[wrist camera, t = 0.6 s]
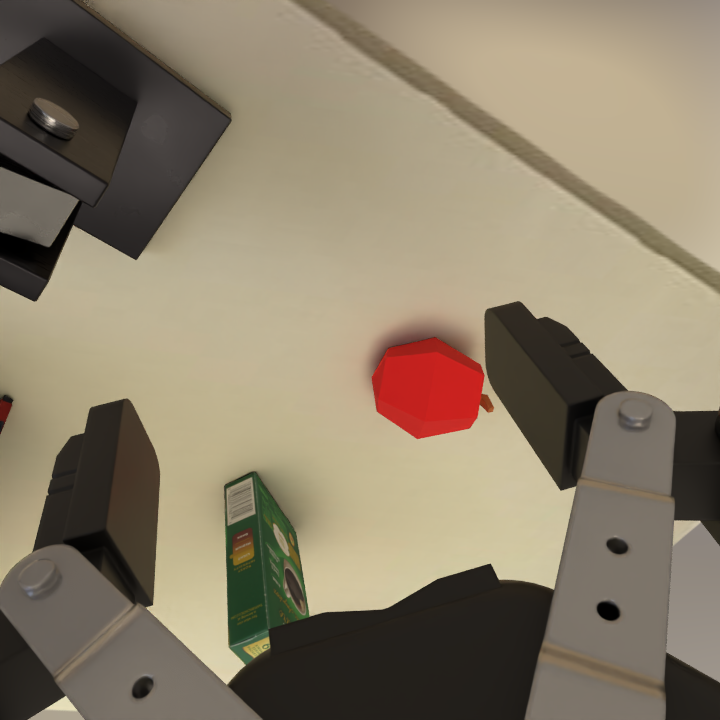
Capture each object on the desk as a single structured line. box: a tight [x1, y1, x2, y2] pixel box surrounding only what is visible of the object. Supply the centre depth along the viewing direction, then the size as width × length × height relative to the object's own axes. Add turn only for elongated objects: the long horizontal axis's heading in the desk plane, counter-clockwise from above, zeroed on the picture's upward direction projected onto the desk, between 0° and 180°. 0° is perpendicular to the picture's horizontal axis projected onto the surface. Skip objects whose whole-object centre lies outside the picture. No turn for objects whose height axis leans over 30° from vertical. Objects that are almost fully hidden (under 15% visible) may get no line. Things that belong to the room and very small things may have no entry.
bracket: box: [0, 0, 232, 301], centre depth 24 cm, size 12×9×13 cm
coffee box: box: [224, 472, 310, 665], centre depth 41 cm, size 8×3×13 cm, turn 19°
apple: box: [372, 337, 494, 439], centre depth 40 cm, size 7×7×8 cm
